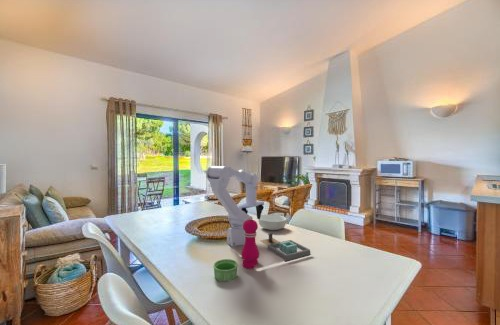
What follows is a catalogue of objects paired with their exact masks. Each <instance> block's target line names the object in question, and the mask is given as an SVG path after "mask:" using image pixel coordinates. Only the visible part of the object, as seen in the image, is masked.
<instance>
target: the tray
mask: <svg viewBox="0 0 500 325" xmlns="http://www.w3.org/2000/svg"><path fill="white" fill-rule="evenodd" d="M286 241H290V242H292V243H294V244H296V245H297V249H299V251H297V252H294V253H290V254H286V253H284V252H282V251H281V250H280V249H277V248H280V243H282V242H286ZM267 249H268V250H269V251H271V252H272V253H274V254H276V256H279V257H280V258H282V259H283V262H285V263H288V262H291V261H296V260H299V259H302V258H306V257H309V256H310V255H311V249H309V248H307V247H305V246H303V245H301V244H299V243H297V242H295V241H294V240H291V239H290V240H285V241H279V243H274V244H270V245H268V246H267Z"/></svg>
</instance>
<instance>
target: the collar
mask: <svg viewBox="0 0 500 325" xmlns="http://www.w3.org/2000/svg"><path fill="white" fill-rule="evenodd" d="M285 241H286V242H283V241H281V242H282V243H280V247H279V251H280V252H282V253H284V254H285V255H287V254H291V253H295V252H298V248H297V245H296V244H294V243H292V242H290V241H288V240H285Z"/></svg>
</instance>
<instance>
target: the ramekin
mask: <svg viewBox="0 0 500 325" xmlns="http://www.w3.org/2000/svg"><path fill="white" fill-rule="evenodd" d="M238 267H239V264H238V262H237V261H236V260H234V259H231V258H225V259H220V260H217V261H215V262H214V263H213V266H212V268H213V272H214V273H213V274H214V278H215V279H216V280H217V281H219V282H230V281H233V280H235V279H236V278H237V272H238Z"/></svg>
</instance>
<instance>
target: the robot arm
mask: <svg viewBox="0 0 500 325" xmlns="http://www.w3.org/2000/svg"><path fill="white" fill-rule="evenodd" d="M205 177H206V179H207V181H208V182H209V184H210V188H211V192H212V193H213V194H214V196H215V197H216V199H217V200H218V201H219V203H220V204H221V205H222V207H223V208H224V209H225V211H226V213H227V216H226V217H227V218H228V222H229V224H230V227H228V228H227V230H226V242H227V243H226V244H227V245H228V246H230V248H232V247H236V246H244V245H245V236H244V232H245V231H244V229H243V223H244V222H245V221H246V220H248V217H249V216H250V214H248V209H249V208H254V207H255V211H256V218H257V220H259V219H260V216H262V213H263V211H264V208H265V207H264V206H265V201H263V200H261V201H258V196H257V195H258V194H257V187H258V182H259V177H258V175H257V174H256V173H251V171H246V169H244V168H242V169H239V170H237V169H235V168H234V167H231V166H228V165H222V166H221V165H220V166H219V165H210V166H209V167H208V168H207V171H206V175H205ZM231 177H234V178H236V180H237V181H238V182H241V183H243V184H244V185H245V201H246V202H245V203H243V204H239V205H237V203H236V202H235V200H234V199H233V198H232V195H231V194H230V193H229V192H228V190H227V189H226V188H228V186H229V183H230V180H231Z"/></svg>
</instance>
